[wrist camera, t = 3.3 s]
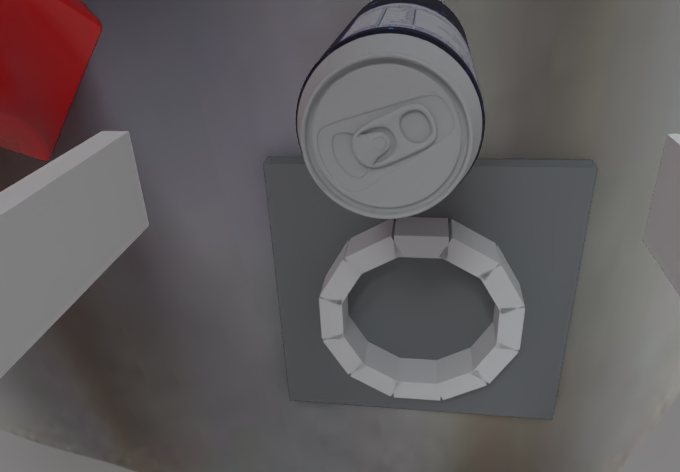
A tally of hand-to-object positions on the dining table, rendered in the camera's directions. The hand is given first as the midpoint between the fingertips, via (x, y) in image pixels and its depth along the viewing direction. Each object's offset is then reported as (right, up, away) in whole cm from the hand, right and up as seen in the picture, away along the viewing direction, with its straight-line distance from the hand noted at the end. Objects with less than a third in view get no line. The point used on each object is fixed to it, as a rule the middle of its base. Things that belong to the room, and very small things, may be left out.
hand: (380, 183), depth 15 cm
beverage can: (+2, +7, +12) cm, 14 cm away
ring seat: (+4, -5, +18) cm, 19 cm away
